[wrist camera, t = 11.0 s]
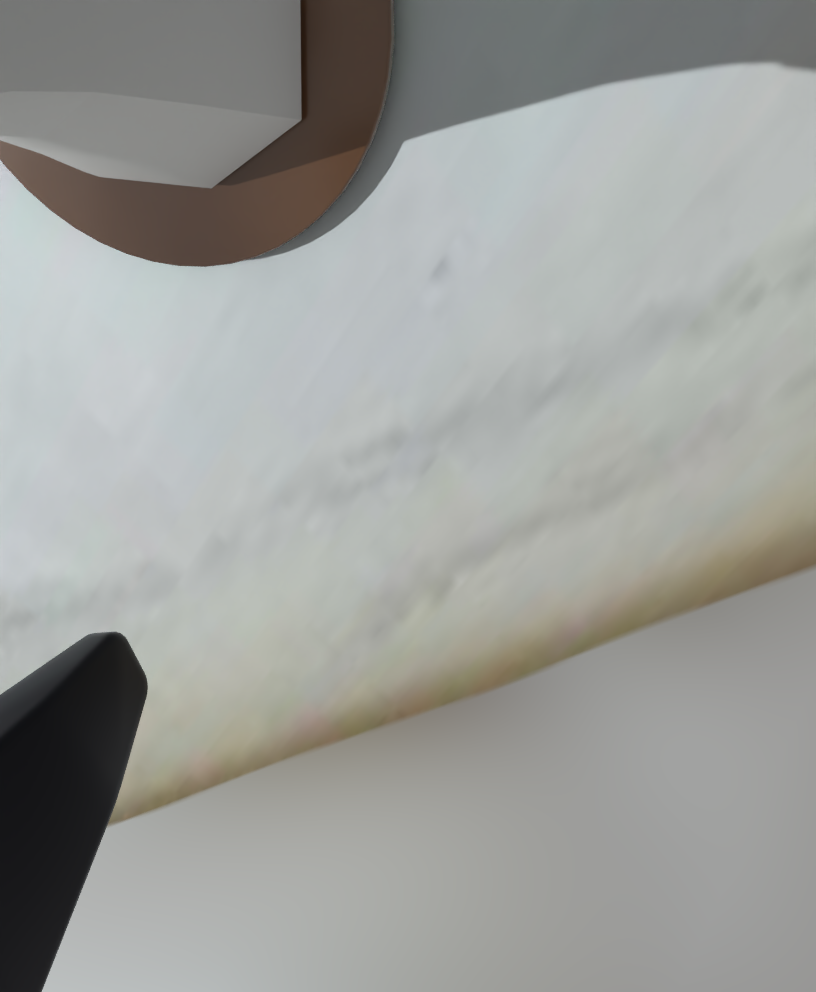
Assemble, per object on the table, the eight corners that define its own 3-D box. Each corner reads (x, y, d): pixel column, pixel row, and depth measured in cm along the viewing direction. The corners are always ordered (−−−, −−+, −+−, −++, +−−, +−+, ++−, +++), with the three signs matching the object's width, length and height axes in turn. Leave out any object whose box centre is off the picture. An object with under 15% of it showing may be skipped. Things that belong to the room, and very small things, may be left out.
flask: (-64, -124, 16) (-689, -252, 8) (242, -255, 14) (-157, -598, 6) (91, 219, 20) (-231, 375, 12) (352, 149, 18) (192, 275, 10)
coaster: (322, -408, 14) (315, -421, 13) (436, 222, 19) (434, 227, 19) (-170, -215, 16) (-189, -222, 16) (58, 291, 22) (49, 297, 21)
